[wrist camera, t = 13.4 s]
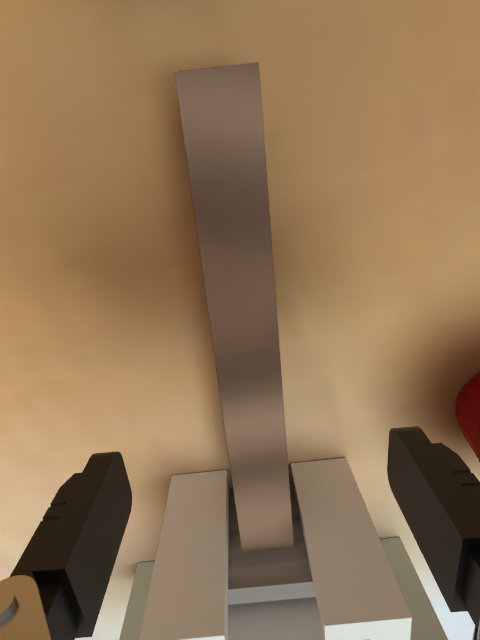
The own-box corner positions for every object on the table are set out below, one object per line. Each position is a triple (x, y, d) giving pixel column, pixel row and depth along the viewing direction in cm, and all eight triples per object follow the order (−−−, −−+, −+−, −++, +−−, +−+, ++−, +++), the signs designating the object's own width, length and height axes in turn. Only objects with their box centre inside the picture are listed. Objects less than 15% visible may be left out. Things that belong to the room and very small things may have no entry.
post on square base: (147, 104, 18) (100, 61, 11) (293, 88, 18) (328, 35, 11) (214, 502, 27) (209, 606, 20) (311, 493, 27) (338, 594, 20)
